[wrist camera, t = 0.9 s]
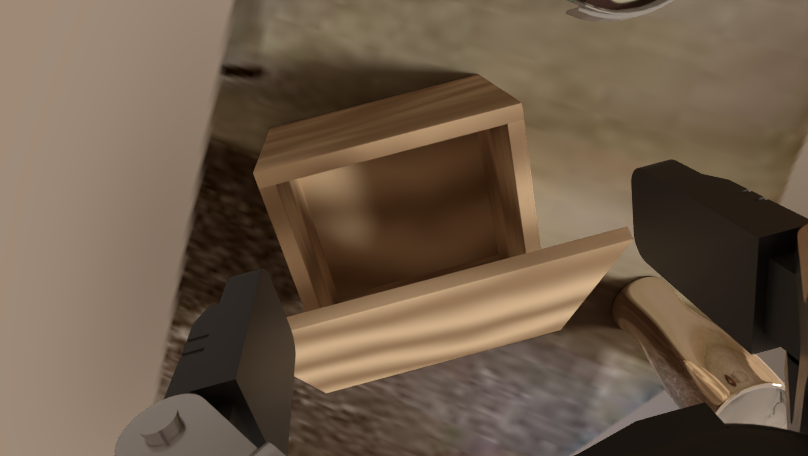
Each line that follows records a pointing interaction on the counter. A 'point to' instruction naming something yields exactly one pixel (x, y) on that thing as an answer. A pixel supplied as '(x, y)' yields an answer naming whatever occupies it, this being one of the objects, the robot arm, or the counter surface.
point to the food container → (613, 9)
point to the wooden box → (399, 190)
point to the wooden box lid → (450, 314)
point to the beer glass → (698, 357)
